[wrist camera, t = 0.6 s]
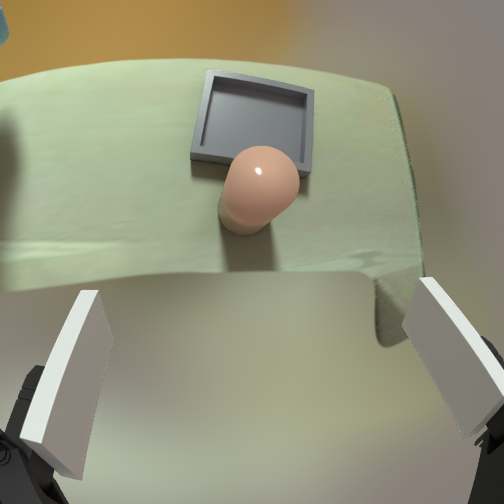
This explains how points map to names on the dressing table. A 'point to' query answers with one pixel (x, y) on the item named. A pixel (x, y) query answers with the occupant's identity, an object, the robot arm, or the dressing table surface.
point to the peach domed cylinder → (257, 189)
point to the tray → (253, 119)
